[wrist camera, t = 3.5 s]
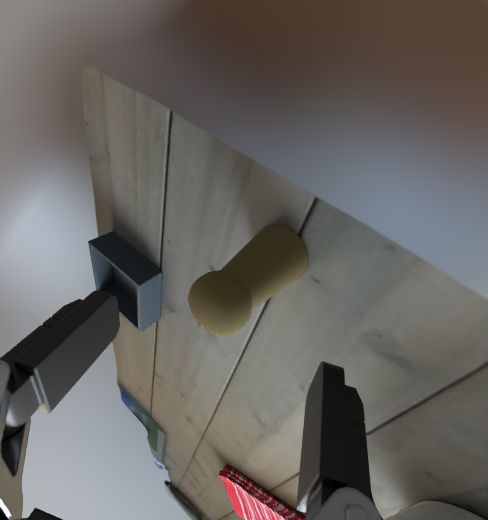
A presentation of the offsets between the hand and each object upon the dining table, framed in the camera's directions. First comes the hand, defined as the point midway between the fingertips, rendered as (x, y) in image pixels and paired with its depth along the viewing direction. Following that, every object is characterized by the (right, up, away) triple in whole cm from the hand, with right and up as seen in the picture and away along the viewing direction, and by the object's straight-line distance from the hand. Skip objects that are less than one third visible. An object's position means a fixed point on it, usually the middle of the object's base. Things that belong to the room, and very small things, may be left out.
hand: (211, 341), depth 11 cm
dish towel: (+8, -50, +52) cm, 72 cm away
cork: (+5, +4, +19) cm, 20 cm away
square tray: (-17, 0, +40) cm, 44 cm away
